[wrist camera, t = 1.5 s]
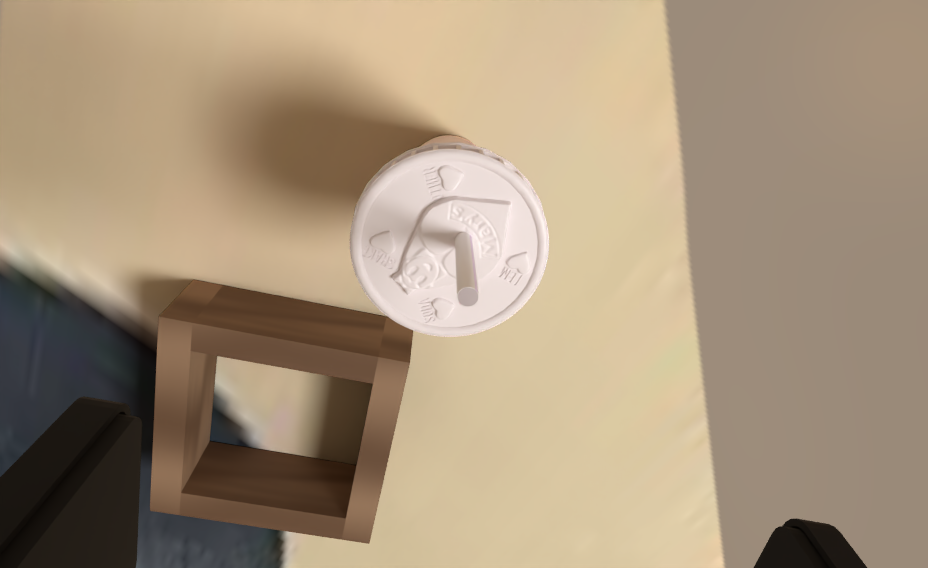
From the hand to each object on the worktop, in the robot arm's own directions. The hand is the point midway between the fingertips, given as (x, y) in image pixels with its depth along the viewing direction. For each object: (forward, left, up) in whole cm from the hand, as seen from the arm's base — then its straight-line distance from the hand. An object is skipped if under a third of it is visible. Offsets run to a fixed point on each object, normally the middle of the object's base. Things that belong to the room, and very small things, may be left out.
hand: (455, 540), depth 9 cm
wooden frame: (+13, -6, -21) cm, 25 cm away
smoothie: (0, 0, -22) cm, 21 cm away
